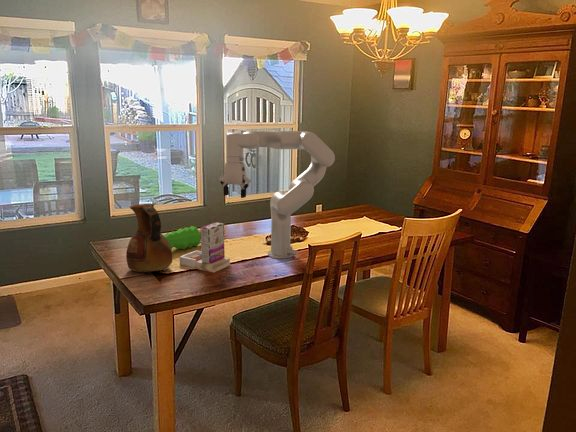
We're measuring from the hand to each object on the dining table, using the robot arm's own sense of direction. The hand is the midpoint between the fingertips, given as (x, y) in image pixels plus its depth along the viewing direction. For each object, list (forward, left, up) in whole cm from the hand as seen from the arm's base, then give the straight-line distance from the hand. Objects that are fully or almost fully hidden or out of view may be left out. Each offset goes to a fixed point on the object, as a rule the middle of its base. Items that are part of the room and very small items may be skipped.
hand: (234, 196), depth 239 cm
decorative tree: (+32, +2, -31) cm, 44 cm away
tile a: (+8, +13, -28) cm, 32 cm away
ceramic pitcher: (+22, +34, -31) cm, 51 cm away
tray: (+11, +16, -30) cm, 36 cm away
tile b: (+8, +19, -28) cm, 34 cm away
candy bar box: (+1, +16, -27) cm, 32 cm away
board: (+1, +16, -30) cm, 34 cm away
